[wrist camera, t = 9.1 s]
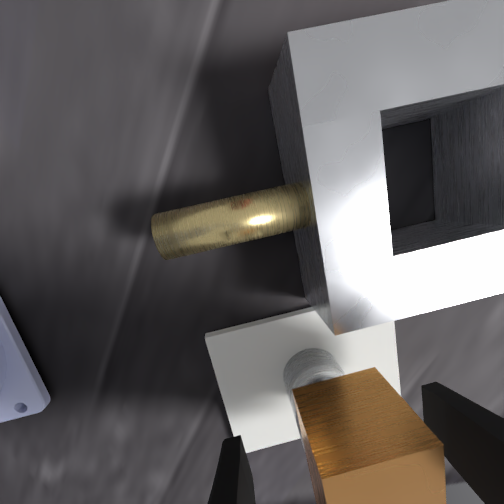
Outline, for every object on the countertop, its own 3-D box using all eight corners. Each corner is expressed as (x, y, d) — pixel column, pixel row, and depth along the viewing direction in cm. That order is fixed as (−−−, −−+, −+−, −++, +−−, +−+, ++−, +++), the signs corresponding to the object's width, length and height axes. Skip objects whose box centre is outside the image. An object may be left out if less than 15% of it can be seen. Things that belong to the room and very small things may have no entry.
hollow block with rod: (202, 324, 11) (191, 372, 8) (141, 116, 9) (93, 69, 6) (480, 255, 12) (573, 274, 8) (480, 46, 10) (602, -29, 6)
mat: (239, 447, 13) (239, 454, 12) (205, 333, 11) (204, 338, 11) (397, 404, 13) (402, 410, 13) (385, 288, 11) (391, 291, 11)
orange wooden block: (345, 411, 12) (450, 602, 6) (293, 425, 12) (352, 633, 6) (329, 316, 11) (443, 445, 5) (272, 330, 11) (321, 479, 5)
